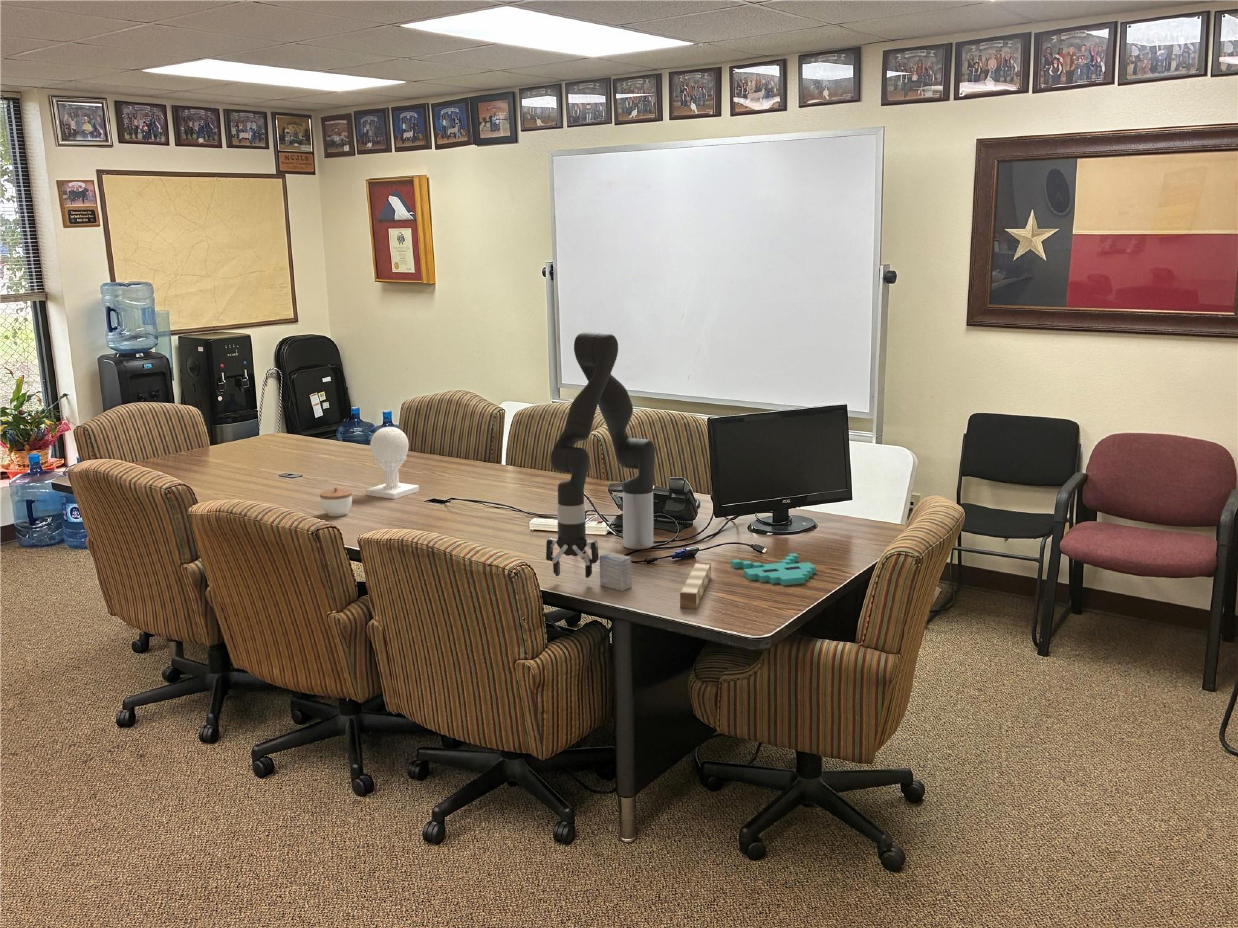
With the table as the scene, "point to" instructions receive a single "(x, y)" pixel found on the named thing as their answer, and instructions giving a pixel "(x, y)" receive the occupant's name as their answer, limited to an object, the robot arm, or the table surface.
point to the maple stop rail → (695, 585)
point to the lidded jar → (336, 501)
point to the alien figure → (777, 570)
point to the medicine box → (615, 571)
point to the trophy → (390, 462)
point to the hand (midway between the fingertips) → (572, 576)
